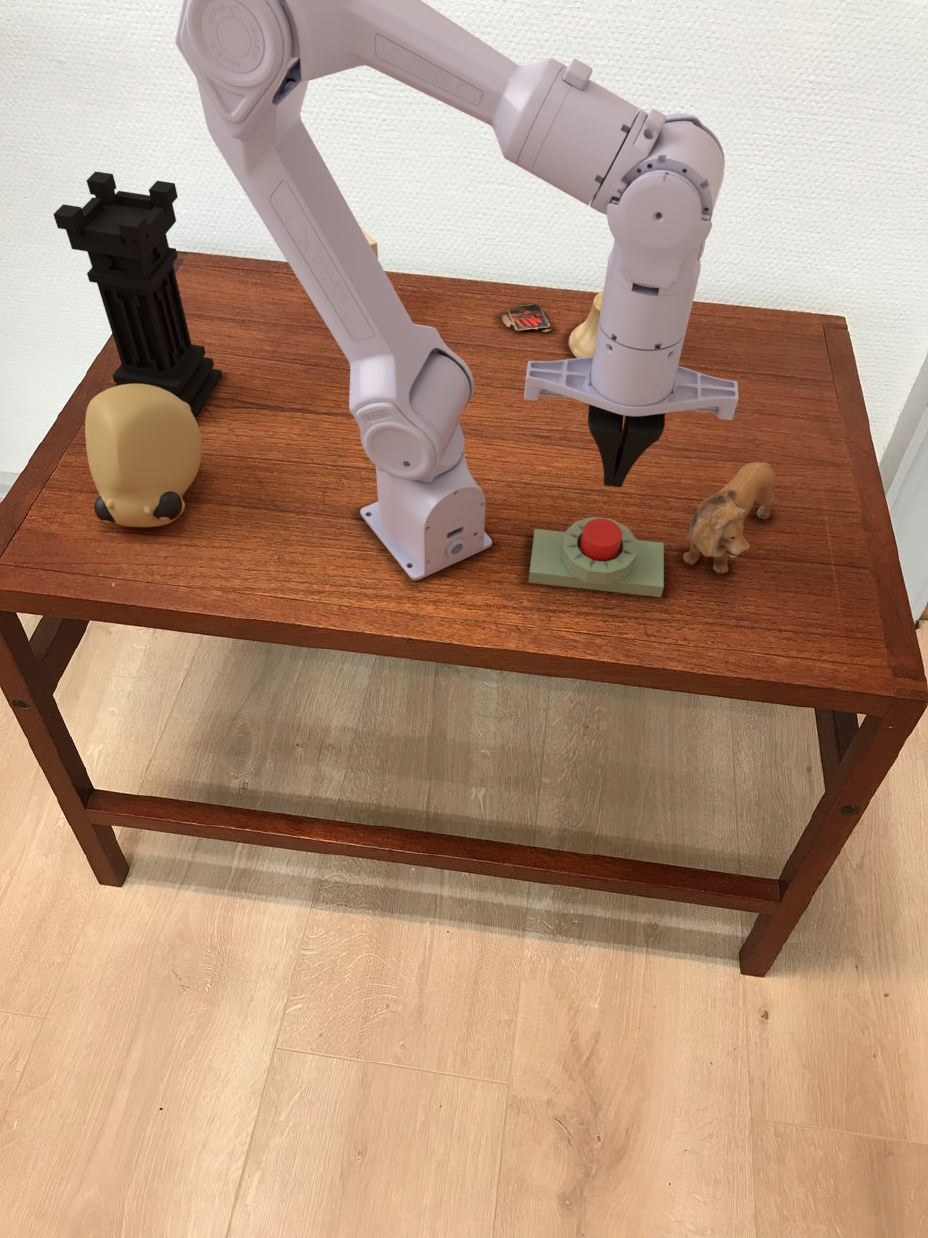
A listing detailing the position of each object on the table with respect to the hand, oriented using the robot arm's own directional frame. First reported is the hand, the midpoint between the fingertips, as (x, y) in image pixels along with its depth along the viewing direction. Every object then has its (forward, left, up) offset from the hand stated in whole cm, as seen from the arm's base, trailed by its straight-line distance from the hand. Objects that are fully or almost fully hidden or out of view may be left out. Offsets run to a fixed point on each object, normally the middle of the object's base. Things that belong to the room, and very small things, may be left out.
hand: (613, 477), depth 74 cm
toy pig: (+28, +28, -11) cm, 41 cm away
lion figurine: (-4, -11, -11) cm, 16 cm away
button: (0, 0, -8) cm, 8 cm away
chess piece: (+40, +22, -11) cm, 47 cm away
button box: (0, 0, -10) cm, 10 cm away
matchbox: (+32, -15, -10) cm, 37 cm away
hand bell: (+24, -20, -11) cm, 33 cm away
